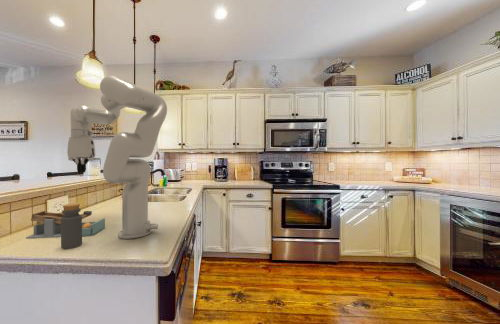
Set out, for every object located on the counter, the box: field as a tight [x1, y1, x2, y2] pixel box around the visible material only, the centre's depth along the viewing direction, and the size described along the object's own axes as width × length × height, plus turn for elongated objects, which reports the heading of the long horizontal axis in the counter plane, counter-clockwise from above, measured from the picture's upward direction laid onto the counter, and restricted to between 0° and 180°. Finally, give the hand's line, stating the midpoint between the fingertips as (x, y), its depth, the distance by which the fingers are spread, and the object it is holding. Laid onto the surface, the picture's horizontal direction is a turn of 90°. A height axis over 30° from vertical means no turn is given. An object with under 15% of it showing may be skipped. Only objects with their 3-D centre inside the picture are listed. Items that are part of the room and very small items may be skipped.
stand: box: [25, 219, 61, 239], centre depth 89 cm, size 14×9×7 cm, turn 99°
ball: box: [82, 223, 91, 229], centre depth 91 cm, size 4×4×4 cm
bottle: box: [60, 202, 83, 250], centre depth 77 cm, size 6×6×15 cm
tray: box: [82, 217, 106, 237], centre depth 91 cm, size 9×10×4 cm
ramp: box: [30, 210, 93, 225], centre depth 94 cm, size 15×16×4 cm
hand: (81, 172), depth 102 cm, fingers closed
